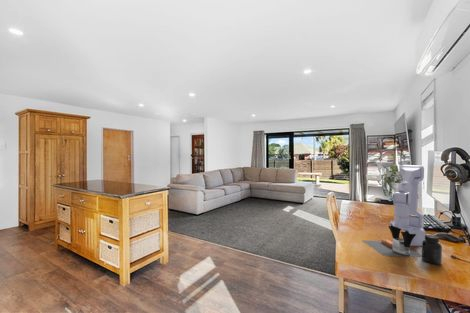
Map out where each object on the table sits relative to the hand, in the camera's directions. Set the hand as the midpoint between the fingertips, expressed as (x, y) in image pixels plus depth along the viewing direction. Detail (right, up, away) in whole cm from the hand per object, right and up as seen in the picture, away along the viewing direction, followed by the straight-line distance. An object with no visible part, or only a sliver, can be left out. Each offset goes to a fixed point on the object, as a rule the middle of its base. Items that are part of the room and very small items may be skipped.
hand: (401, 243), depth 109 cm
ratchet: (0, -5, +5) cm, 7 cm away
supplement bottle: (+7, -5, -9) cm, 13 cm away
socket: (0, -3, 0) cm, 3 cm away
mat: (-1, -5, +6) cm, 8 cm away
